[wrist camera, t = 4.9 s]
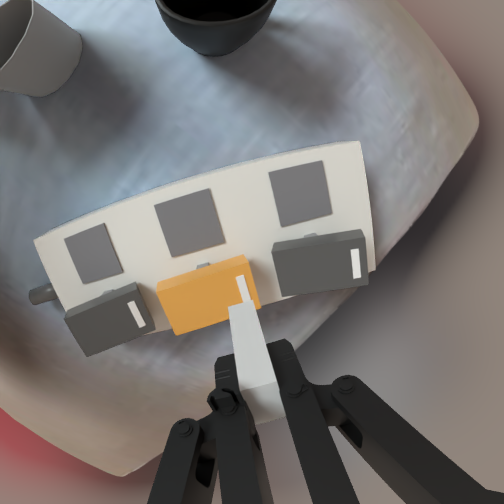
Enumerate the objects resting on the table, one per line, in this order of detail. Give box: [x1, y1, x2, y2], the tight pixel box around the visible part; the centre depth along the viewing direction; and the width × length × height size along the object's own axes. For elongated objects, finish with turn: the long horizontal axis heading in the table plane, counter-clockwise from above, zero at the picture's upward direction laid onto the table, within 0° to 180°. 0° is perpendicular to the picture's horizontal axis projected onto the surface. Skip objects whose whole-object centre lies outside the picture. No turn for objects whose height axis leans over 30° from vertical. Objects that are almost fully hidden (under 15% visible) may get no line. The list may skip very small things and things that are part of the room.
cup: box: [0, 0, 83, 97], centre depth 13 cm, size 8×8×10 cm
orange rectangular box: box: [156, 254, 261, 336], centre depth 21 cm, size 7×4×2 cm, turn 104°
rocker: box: [271, 229, 369, 297], centre depth 21 cm, size 7×4×2 cm, turn 104°
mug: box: [155, 0, 277, 56], centre depth 15 cm, size 8×12×10 cm
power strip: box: [29, 141, 376, 335], centre depth 24 cm, size 36×12×6 cm, turn 104°
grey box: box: [64, 281, 156, 357], centre depth 21 cm, size 7×4×2 cm, turn 104°
